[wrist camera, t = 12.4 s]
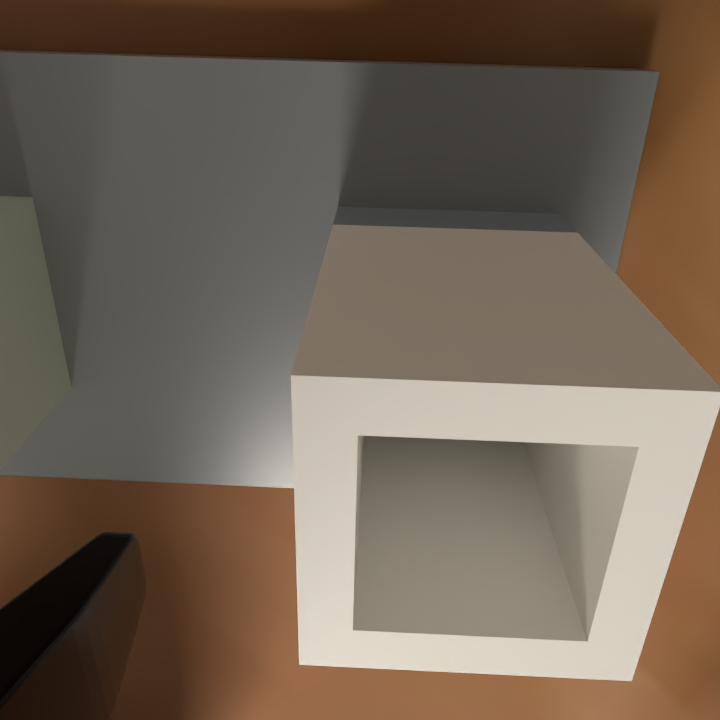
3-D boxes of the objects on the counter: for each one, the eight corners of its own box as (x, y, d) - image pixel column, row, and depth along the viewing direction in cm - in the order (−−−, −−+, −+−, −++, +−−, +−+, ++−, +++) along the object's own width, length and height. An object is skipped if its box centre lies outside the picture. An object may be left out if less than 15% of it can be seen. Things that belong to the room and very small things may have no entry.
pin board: (558, 478, 19) (681, 804, 11) (-110, 449, 20) (-456, 741, 12) (642, 68, 14) (976, 124, 6) (-261, 41, 15) (-1055, 60, 7)
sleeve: (528, 405, 17) (632, 680, 10) (336, 397, 17) (299, 664, 10) (560, 213, 15) (724, 392, 7) (338, 206, 15) (290, 375, 8)
